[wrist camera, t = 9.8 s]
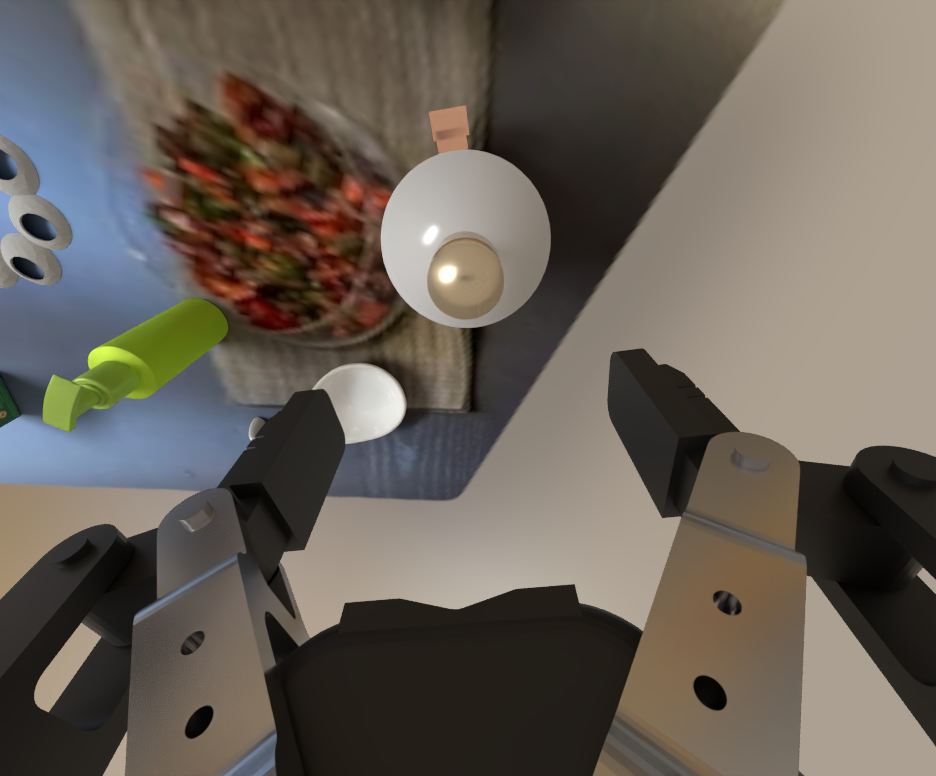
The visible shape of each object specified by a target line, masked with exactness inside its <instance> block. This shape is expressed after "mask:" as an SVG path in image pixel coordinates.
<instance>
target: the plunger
mask: <svg viewBox="0 0 936 776" xmlns="http://www.w3.org/2000/svg"><path fill="white" fill-rule="evenodd" d="M427 288H428V292H429V295H430V297H431V299H432V301H433V303H434V304H435V305H436V307H437V308H438V309H439V310H441V311H442V312H443V313H445V314H446V315H448V316H450V317H453V318H456V319H461V320H470V319H476V318H479V317H481V316H483V315H485V314H487V313H488V312H490V311H491V310H492V309H493V308H494V307H495V306H496V305H497V303H498V302H499V300H500V298H501V296H502V293H503V289H504V273H503V269H502V266H501V263H500V259H499V256H498V253H497V251H496V249H495V247H494V246H493V244H492V243H491V242H490V241H489V240H488V239H487V238H485V237H484V236H482V235H480V234H478V233H475V232H470V231H461V232H456V233H453V234H451V235H449V236H447V237H446V238H445V239H443V240H442V241H441V242H440V244H439V245H438V246H437V248H436V250H435V252H434V254H433V257H432V261H431V264H430V267H429V270H428V274H427Z"/></svg>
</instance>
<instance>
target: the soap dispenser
mask: <svg viewBox="0 0 936 776" xmlns="http://www.w3.org/2000/svg"><path fill="white" fill-rule="evenodd" d="M227 332H228V323H227V320H226V318H225V316H224V315H223V313H222V312H221V311H220V310H219V309H218V308H217V307H216V306H215V305H213V304H212V303H210V302H208V301H206V300H203V299H198V298H190V299H186V300H184V301H182V302H181V303H179V304H177V305H175V306H173V307H171V308H169V309H168V310H166V311H164V312H162V313H160V314H158V315H157V316H155V317H153V318H151V319H149V320H147V321H145V322H144V323H142V324H140V325H138V326H136V327H134V328H133V329H131V330H129V331H127V332H125V333H123V334H121V335H120V336H118V337H116V338H114V339H112V340H110V341H108V342H107V343H105V344H103V345H101V346H99V347H97V348H96V349H94V350H93V351H92V352H91V353H90V354H89V357H88V365H89V368H90V370H89V371H87V372H85V373H84V374H82V375H80V376H79V377H77V378H75V379H74V380H73V381H70V380H67V379H65V378H63V377H60V376H58V375H53V376H52V378H51V381H50V383H49V385H48V388H47V391H46V394H45V398H44V404H43V422H44V423H47V424H49V425H52V426H54V427H57V428H59V429H62V430H64V431H67V432H70V431H72V430H73V429H75V425H76V418H77V417H79V416H80V415H82V414H83V413H84V412H86V411H87V410H89V409H90V408H95V409H108V408H110V407H112V406H113V405H114V404H116V403H117V402H119V401H120V400H121V399H123V398H124V397H126V398H131V399H143V398H147V397H149V396H151V395H152V394H153V393H155V392H156V391H157V390H159V389H160V388H161V387H162V386H164V385H165V384H166V383H167V382H169V381H170V380H171V379H173V378H174V377H175V376H176V375H178V374H179V373H180V372H181V371H183V370H184V369H185V368H187V367H188V366H189V365H190V364H192V363H193V362H194V361H195V360H197V359H198V358H199V357H201V356H202V355H203V354H204V353H206V352H207V351H208V350H210V349H211V348H212V347H213V346H215V345H216V344H217V343H218V342H220V341H221V340H222V339H223V338H225V336H226V335H227Z"/></svg>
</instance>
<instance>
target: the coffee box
mask: <svg viewBox="0 0 936 776" xmlns="http://www.w3.org/2000/svg"><path fill="white" fill-rule="evenodd" d="M19 416H21V415H20V413H19V411H18V409H17V406H16V404H15V403H14V401H13V400H12V398H11V396H10V394H9V392H8V390H7V388H6V386H5V383H4V381H3V380H2V379H1V377H0V427H2V426H4V425H5V424H7V423H9V422H11V421H12V420H14V419H16V418H18V417H19Z"/></svg>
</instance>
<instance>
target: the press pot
mask: <svg viewBox="0 0 936 776" xmlns="http://www.w3.org/2000/svg"><path fill="white" fill-rule="evenodd" d="M429 115H430V121H431V127H432V133H433V140H434V141H435V142H437V146H438V152H439V154H438V155H436V156H433V157H431V158H429V159H427V160H425V161H424V162H422V163H420V164H419V165H417V166H416V167H415V168H414V169H413V170H411V171H410V172H409V173H408V174H407V175H406V176H405V177H404V178H403V179H402V181H401V182H400V183H399V184H398V186H397V187H396V189H395V190H394V192H393V194H392V196H391V198H390V200H389V202H388V204H387V207H386V210H385V213H384V217H383V222H382V228H381V248H382V255H383V260H384V264H385V267H386V270H387V273H388V275H389V277H390V279H391V281H392V283H393V285H394V287H395V288H396V290H397V291H398V293H399V294H400V295H401V296H402V298H403V299H404V300H405V301H406V302H407V303H408V304H409V305H410V306H411V307H412V308H413V309H415V310H416V311H417V312H419V313H420V314H421V315H423V316H425V317H427V318H428V319H430V320H433V321H435V322H437V323H440V324H443V325H447V326H452V327H459V328H472V327H480V326H485V325H489V324H492V323H495V322H497V321H500V320H502V319H504V318H506V317H507V316H509V315H511V314H512V313H514V312H515V311H516V310H517V309H519V308H520V307H521V306H522V305H523V304H524V303H525V302H526V301H527V300H528V299H529V298H530V297H531V295H532V294H533V293H534V291H535V290H536V288H537V287H538V285H539V283H540V281H541V279H542V277H543V275H544V272H545V270H546V267H547V263H548V260H549V254H550V245H551V233H550V224H549V219H548V215H547V211H546V208H545V206H544V203H543V201H542V199H541V197H540V195H539V193H538V191H537V189H536V188H535V187H534V185H533V184H532V182H531V181H530V180H529V179H528V178H527V177H526V176H525V175H524V174H523V173H522V171H520V170H519V169H518V168H516V167H515V166H514V165H513V164H511V163H510V162H508V161H506V160H504V159H502V158H501V157H498V156H496V155H493V154H490V153H487V152H482V151H478V150H468V145H467V138H469V128H468V120H467V112H466V105H464V106H458V107H453V108H448V109H442V110H437V111H431V112H429ZM461 231H470V232H475V233H478V234H480V235H482V236H484V237H485V238H487V239H488V240H489V241H490V242H491V243H492V244H493V246H494V247H495V249H496V251H497V253H498V256H499V259H500V263H501V266H502V269H503V273H504V289H503V293H502V296H501V298H500V300H499V302H498V303H497V305H496V306H495V307H494V308H493V309H492V310H491V311H490V312H488V313H487V314H485V315H483V316H481V317H479V318H476V319H470V320H461V319H456V318H453V317H450V316H448V315H446V314H445V313H443V312H442V311H441V310H439V309H438V308H437V307H436V305H435V304H434V303H433V301H432V299H431V297H430V295H429V292H428V288H427V274H428V270H429V267H430V264H431V261H432V257H433V254H434V252H435V250H436V248H437V246H438V245H439V244H440V242H441V241H442V240H443V239H445V238H446V237H447V236H449V235H451V234H453V233H456V232H461Z"/></svg>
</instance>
